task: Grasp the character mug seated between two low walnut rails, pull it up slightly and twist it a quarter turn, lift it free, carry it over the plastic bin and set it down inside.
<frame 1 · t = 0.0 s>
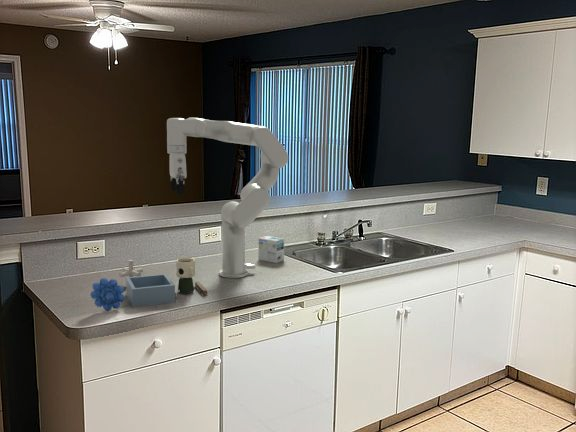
hand: (177, 192, 232), 37 cm above the worktop, tool pointing down, fingers open, 9 cm apart
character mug: (185, 292, 223), on the worktop
light bulb box: (271, 260, 273), on the worktop
seat rails: (185, 292, 223), on the worktop
pipe connector: (131, 285, 231), on the worktop
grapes: (109, 311, 202), on the worktop
bin: (150, 298, 216), on the worktop
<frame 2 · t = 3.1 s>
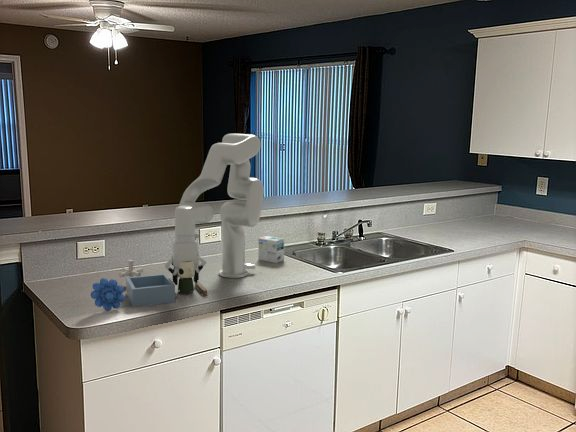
hand: (185, 282, 223), 4 cm above the worktop, tool pointing down, fingers closed on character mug, 7 cm apart
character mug: (185, 293, 223), on the worktop, touching gripper
everything else where it was.
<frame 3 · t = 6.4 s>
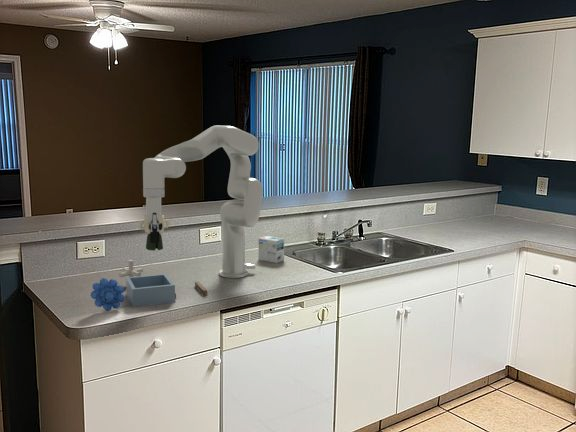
hand: (154, 239, 213), 22 cm above the worktop, tool pointing down, fingers closed on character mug, 7 cm apart
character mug: (154, 250, 214), point 18 cm above the worktop, touching gripper
everything else where it was.
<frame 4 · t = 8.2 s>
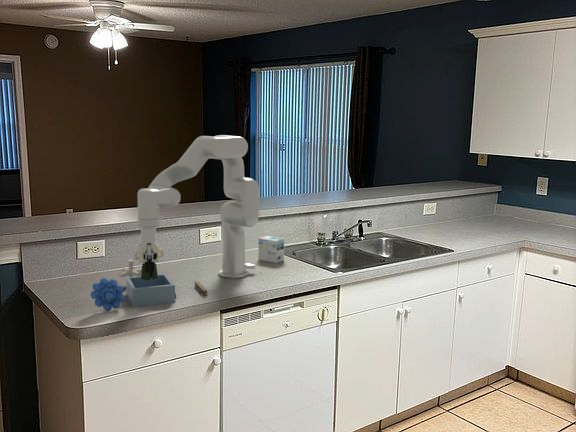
hand: (149, 268, 214), 11 cm above the worktop, tool pointing down, fingers closed on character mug, 7 cm apart
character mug: (149, 279, 215), point 7 cm above the worktop, touching gripper
everything else where it was.
when the fingers open (7 cm above the worktop, at t = 9.5 s): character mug drops 2 cm, resting on bin.
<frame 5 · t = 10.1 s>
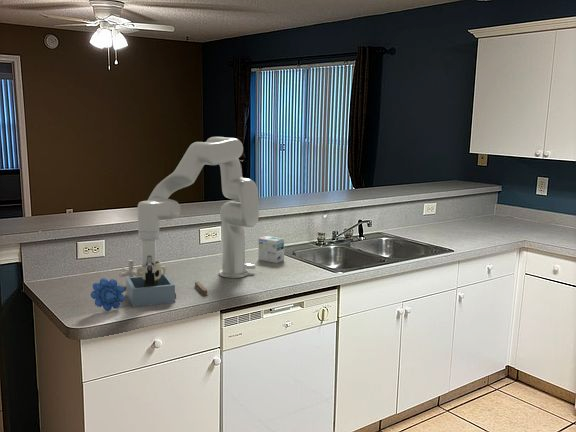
hand: (150, 279, 215), 7 cm above the worktop, tool pointing down, fingers open, 9 cm apart
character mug: (150, 296, 216), point 1 cm above the worktop, touching bin
everything else where it was.
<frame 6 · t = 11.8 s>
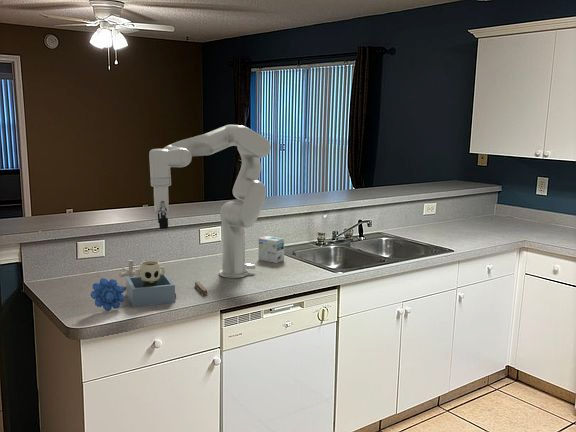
hand: (163, 225, 222), 26 cm above the worktop, tool pointing down, fingers open, 9 cm apart
nothing on the worktop moved.
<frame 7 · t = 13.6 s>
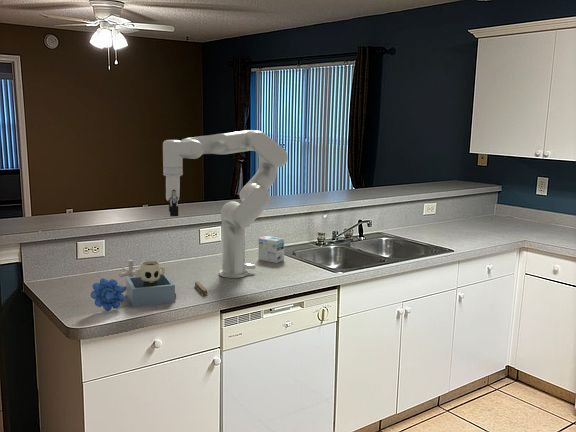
hand: (173, 213, 231), 28 cm above the worktop, tool pointing down, fingers open, 9 cm apart
nothing on the worktop moved.
at the end: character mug inside the target area on the bin (0.2 cm from its centre), point 0.4 cm above the bin's base; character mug tilted 0°; the gripper is holding nothing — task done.
